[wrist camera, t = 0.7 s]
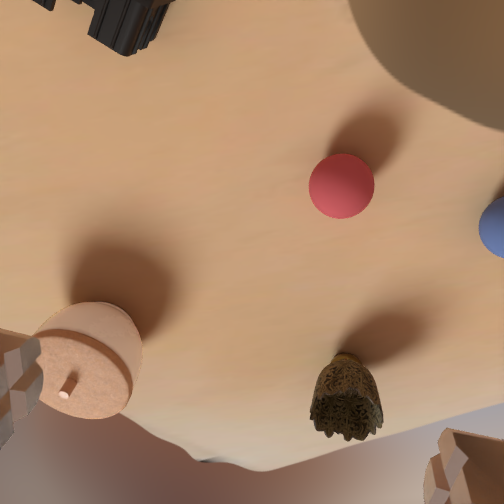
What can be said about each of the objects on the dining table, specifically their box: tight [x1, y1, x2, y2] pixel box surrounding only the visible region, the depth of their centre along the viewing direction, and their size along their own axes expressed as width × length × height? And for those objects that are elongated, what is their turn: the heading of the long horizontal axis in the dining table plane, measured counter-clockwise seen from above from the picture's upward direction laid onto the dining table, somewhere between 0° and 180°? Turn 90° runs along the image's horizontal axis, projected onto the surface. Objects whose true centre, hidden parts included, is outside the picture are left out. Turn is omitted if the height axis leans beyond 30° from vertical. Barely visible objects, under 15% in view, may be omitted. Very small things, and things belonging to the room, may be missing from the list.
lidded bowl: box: [32, 301, 143, 419], centre depth 54 cm, size 13×13×11 cm
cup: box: [310, 353, 383, 441], centre depth 52 cm, size 8×7×8 cm
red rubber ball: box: [309, 154, 374, 219], centre depth 41 cm, size 6×6×6 cm
